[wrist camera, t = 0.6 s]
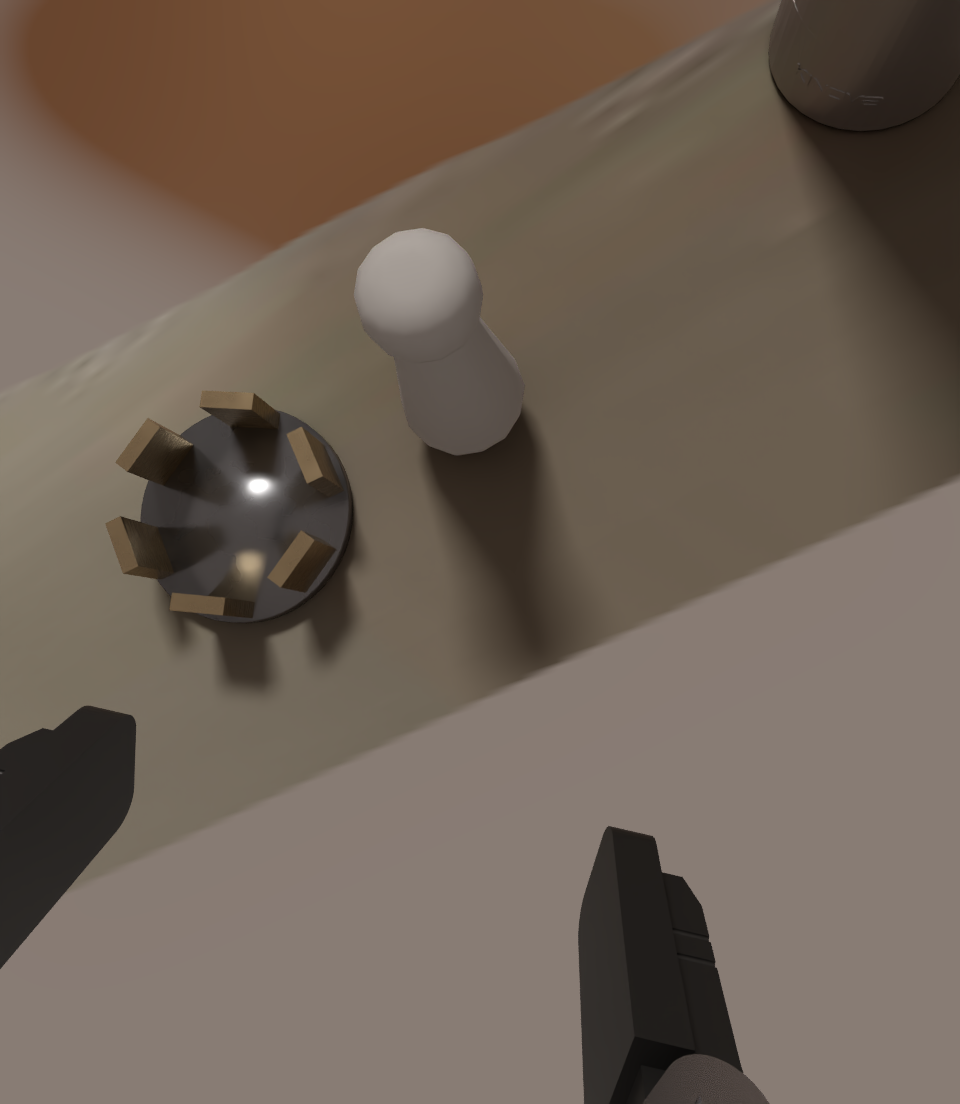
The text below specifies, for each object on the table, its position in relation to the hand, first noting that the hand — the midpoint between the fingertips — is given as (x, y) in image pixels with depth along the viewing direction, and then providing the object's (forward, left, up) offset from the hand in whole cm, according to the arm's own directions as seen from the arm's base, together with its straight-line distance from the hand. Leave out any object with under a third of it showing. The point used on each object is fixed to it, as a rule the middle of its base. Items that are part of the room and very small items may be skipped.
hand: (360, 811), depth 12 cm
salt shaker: (-12, -9, -22) cm, 27 cm away
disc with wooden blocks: (-1, -16, -22) cm, 27 cm away
